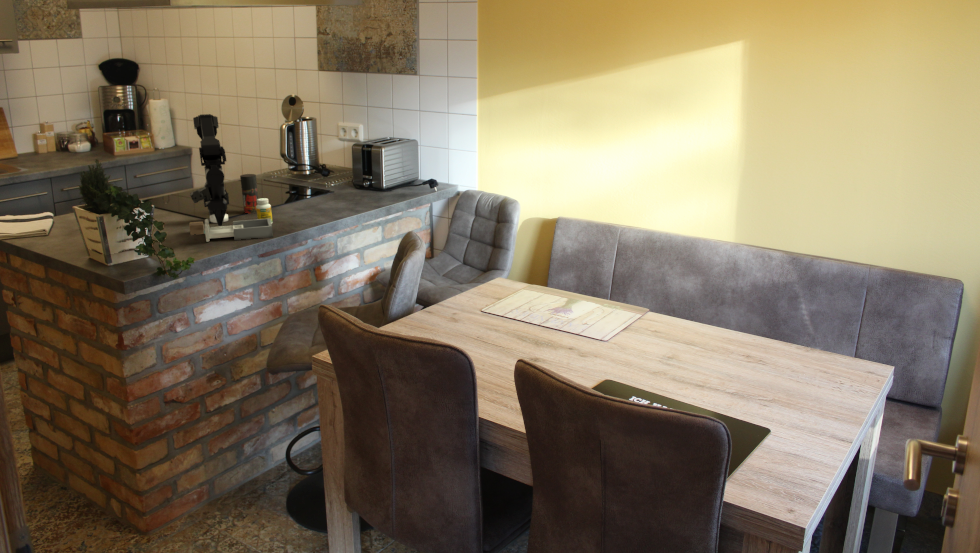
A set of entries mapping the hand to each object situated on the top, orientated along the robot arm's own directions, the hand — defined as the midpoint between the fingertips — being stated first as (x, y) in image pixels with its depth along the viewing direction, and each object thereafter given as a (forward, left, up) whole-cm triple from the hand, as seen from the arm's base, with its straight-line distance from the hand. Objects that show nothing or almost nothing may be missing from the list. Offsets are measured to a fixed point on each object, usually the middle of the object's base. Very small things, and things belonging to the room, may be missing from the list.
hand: (220, 223), depth 257 cm
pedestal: (-9, -8, -5) cm, 13 cm away
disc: (0, 0, +1) cm, 1 cm away
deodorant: (-35, +12, -5) cm, 37 cm away
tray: (0, +1, -4) cm, 5 cm away
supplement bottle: (-14, +16, -5) cm, 22 cm away
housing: (0, +11, -5) cm, 12 cm away
